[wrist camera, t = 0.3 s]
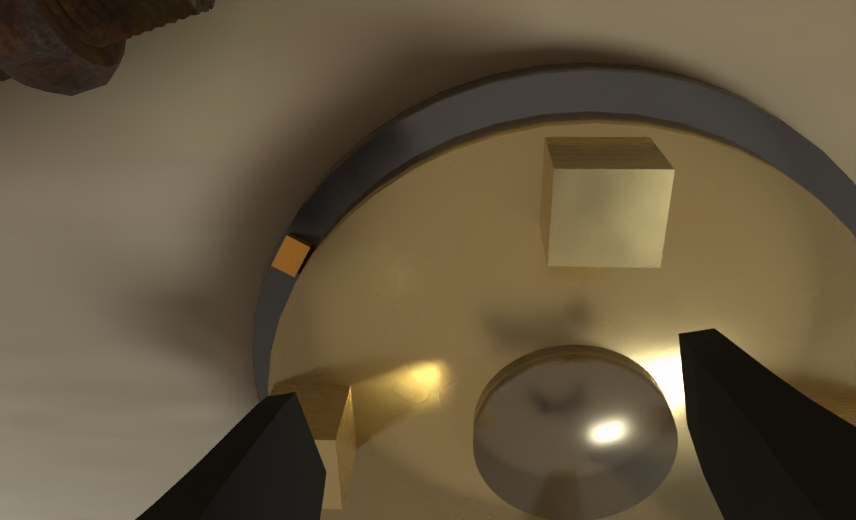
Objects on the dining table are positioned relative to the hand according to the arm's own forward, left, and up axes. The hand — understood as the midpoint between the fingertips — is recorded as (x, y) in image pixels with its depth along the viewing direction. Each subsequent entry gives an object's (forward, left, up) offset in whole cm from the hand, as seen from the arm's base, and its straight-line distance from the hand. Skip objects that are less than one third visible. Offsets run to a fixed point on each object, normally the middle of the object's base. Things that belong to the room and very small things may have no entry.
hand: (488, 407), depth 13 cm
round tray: (-6, +2, -8) cm, 10 cm away
